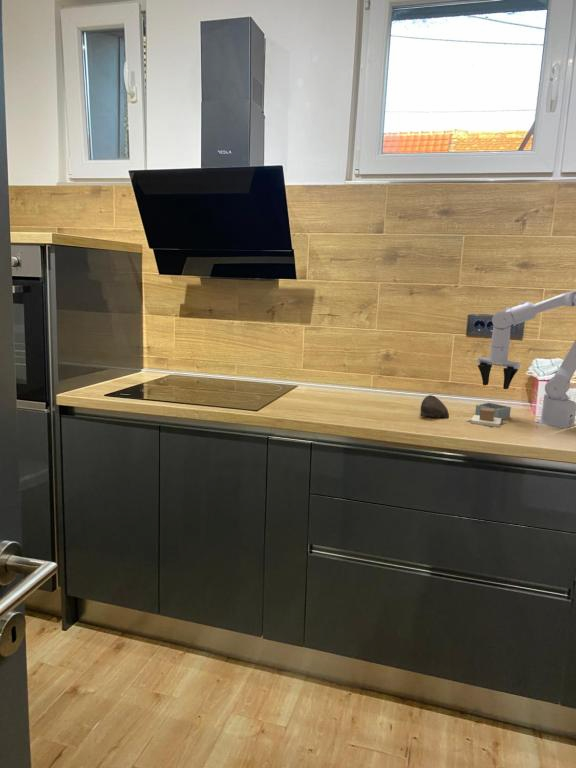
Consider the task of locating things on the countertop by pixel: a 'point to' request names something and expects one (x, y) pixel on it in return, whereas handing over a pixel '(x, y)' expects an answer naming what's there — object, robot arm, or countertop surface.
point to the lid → (486, 418)
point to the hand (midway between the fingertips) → (495, 386)
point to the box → (498, 413)
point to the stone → (433, 408)
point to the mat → (487, 425)
